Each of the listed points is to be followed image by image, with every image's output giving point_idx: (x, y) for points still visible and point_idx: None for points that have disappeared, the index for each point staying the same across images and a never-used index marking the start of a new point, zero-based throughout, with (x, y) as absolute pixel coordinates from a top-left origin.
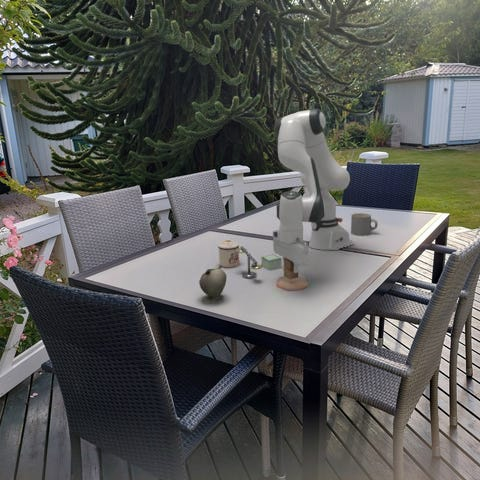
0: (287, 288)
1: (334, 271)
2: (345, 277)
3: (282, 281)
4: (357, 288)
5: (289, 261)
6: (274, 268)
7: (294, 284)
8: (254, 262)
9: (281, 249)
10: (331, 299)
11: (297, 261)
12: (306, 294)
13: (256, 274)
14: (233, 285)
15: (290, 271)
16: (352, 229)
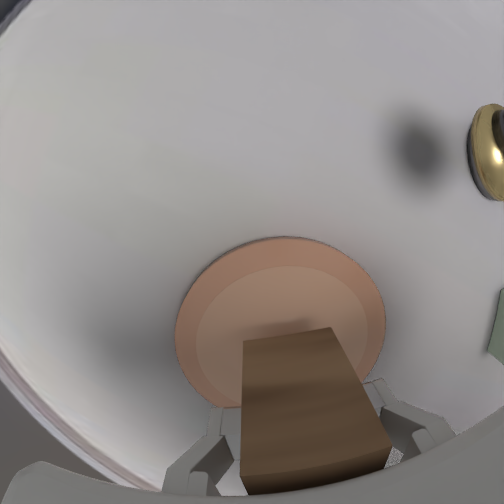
0: (195, 281)
1: None
2: None
3: (313, 294)
4: (147, 483)
5: (260, 478)
6: (495, 319)
7: (221, 345)
8: None
9: (497, 495)
10: (59, 390)
11: (71, 497)
12: (111, 343)
13: (487, 192)
14: (400, 17)
15: (243, 393)
16: None
